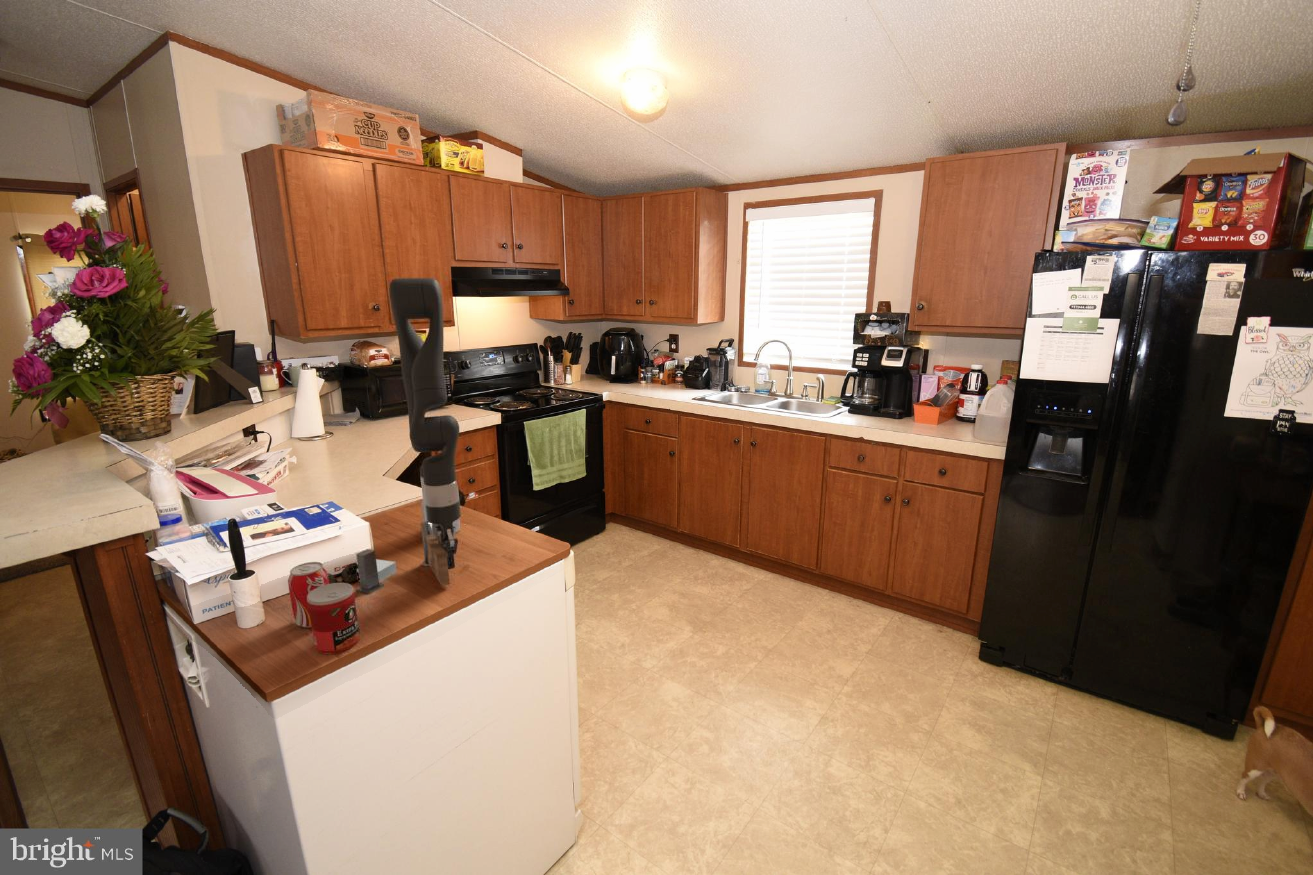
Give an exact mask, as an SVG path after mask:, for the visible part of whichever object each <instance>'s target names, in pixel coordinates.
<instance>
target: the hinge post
mask: <svg viewBox="0 0 1313 875" xmlns="http://www.w3.org/2000/svg"><path fill="white" fill-rule="evenodd" d="M420 527H421V528H420V531H421V537H422V546H423V547H422V548H423V555H424V561H423V562H422V563H421V564H422V566H423V567H425V568H431V567H430V565H429V564H428V555H427V546H426V540H425V538H424V536H426V535H431V534H433V527H432V523H429V522H428V521H424V522H423V521H422V522H420Z"/></svg>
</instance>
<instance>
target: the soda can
mask: <svg viewBox="0 0 1313 875" xmlns="http://www.w3.org/2000/svg"><path fill="white" fill-rule="evenodd" d="M323 566H324V565H323V563H322V562H320V561H319V562H318V561H311V562H310V561H309V562H305V563H300V564H298V565H296V566H293V567H292V568H291V569H290V571H289V573H290V574H289V577H288V579H287V584H288V592H289V598H290V602H291V604H290V605H291V608H292V615H293V619H294V622H295V624H296V625H297V626H299V627H303V628H312V627H311V622H310V616H309V610H308V603H307V595H308V594H309V593H310V592H311V591H312V590H314V589H316V588H318V587H321V586H323V585H327V584H330V579H329V575H328V570H326V568H325V567H323Z"/></svg>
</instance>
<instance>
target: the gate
mask: <svg viewBox="0 0 1313 875" xmlns="http://www.w3.org/2000/svg"><path fill="white" fill-rule="evenodd" d="M424 538H425V540H426V546H427V555H428V564H429V565H430V567H429V568H430V569H431V570H432V572H433V574H434V576H435V577H436V579H437V581H438V582H439V583H440V586H446V585H450V584H451V583H450V572H449V570H448V562H447V557H448V554H447V552H446V551H445V550H444V548H443V547H441V546H440V544H439V543H438V539H437V537H435V535H434V534H431V535H426V536H424Z"/></svg>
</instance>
